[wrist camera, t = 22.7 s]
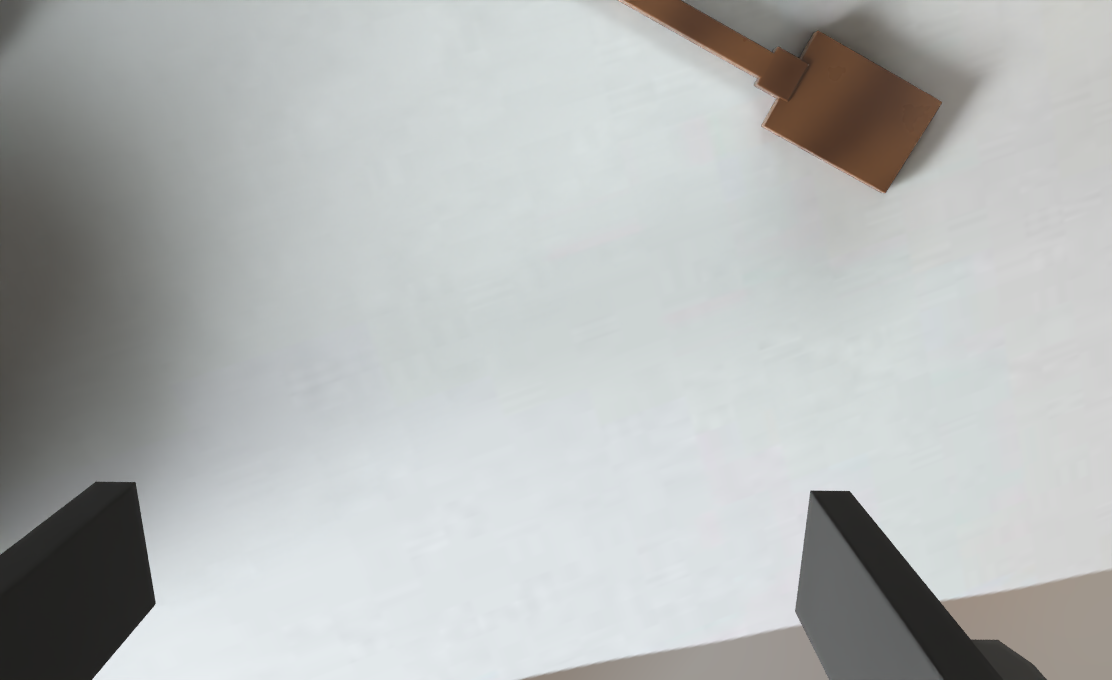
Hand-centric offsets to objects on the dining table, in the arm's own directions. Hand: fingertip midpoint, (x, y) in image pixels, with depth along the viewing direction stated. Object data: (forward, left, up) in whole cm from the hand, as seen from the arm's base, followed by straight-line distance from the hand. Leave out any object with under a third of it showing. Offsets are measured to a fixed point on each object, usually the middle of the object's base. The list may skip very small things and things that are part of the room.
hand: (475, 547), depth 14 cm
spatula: (+5, +16, -30) cm, 34 cm away
